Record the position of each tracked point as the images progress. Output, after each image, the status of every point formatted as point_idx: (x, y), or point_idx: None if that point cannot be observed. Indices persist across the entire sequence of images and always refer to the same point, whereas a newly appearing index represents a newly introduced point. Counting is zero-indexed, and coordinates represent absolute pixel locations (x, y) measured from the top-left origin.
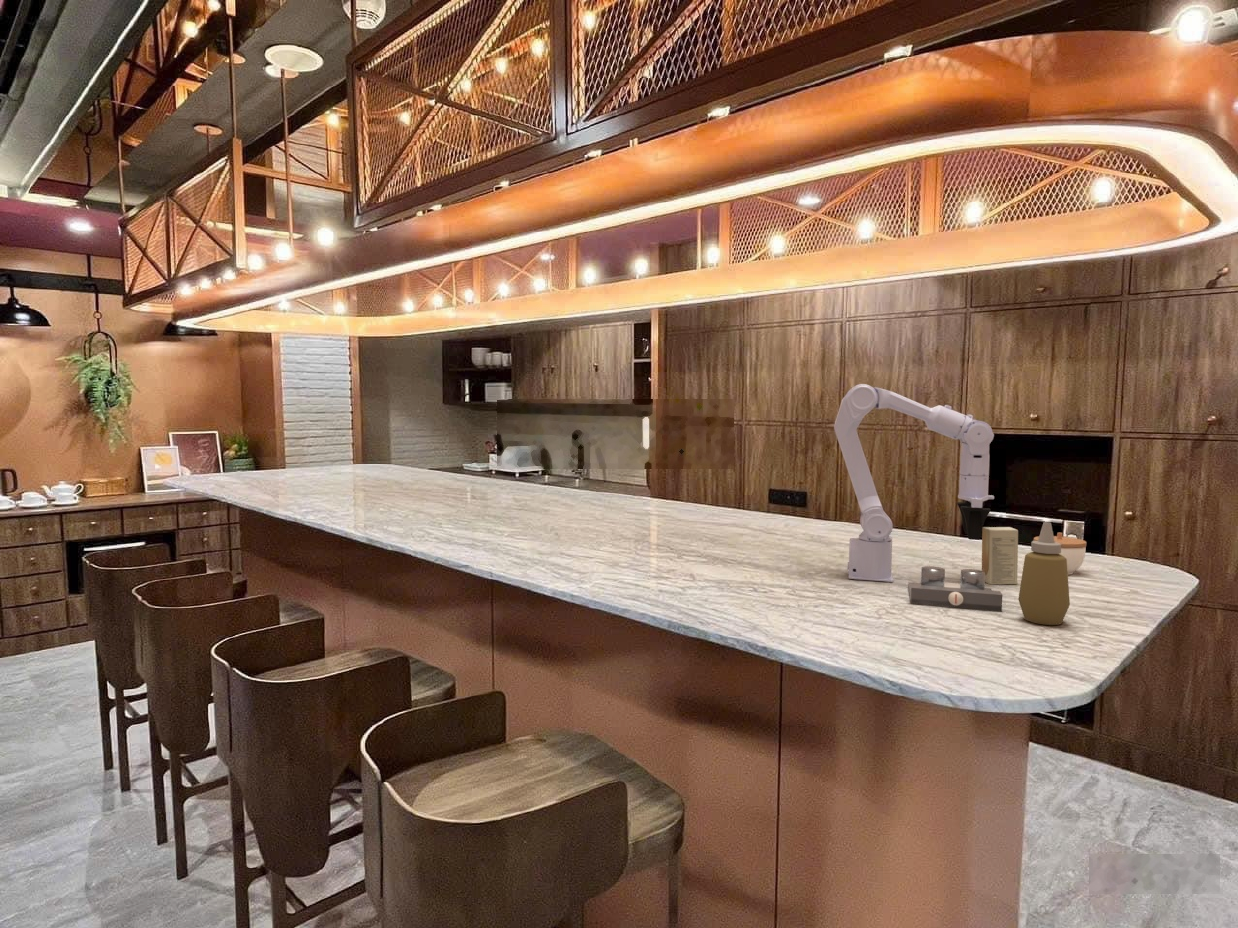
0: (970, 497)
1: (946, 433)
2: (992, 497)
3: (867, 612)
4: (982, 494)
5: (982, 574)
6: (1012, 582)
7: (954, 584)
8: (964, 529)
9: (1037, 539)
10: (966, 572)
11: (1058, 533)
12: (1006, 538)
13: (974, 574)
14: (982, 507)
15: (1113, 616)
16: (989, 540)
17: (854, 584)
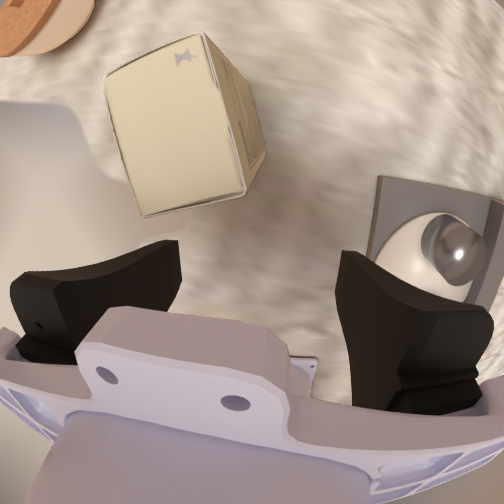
0: (416, 489)
1: None
2: (287, 380)
3: (479, 367)
4: (365, 499)
5: (483, 240)
6: (250, 93)
7: (388, 267)
8: (176, 294)
9: (21, 40)
10: (474, 276)
11: (12, 1)
12: (232, 97)
13: (483, 259)
14: (81, 285)
15: (475, 15)
16: (252, 180)
17: (340, 397)
